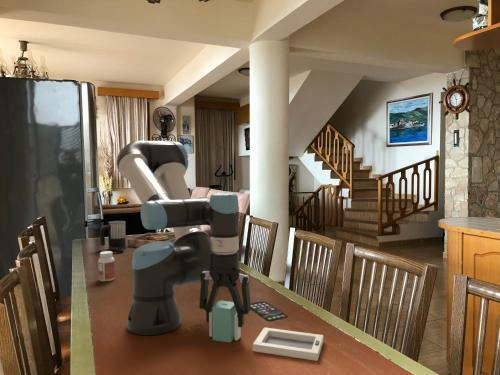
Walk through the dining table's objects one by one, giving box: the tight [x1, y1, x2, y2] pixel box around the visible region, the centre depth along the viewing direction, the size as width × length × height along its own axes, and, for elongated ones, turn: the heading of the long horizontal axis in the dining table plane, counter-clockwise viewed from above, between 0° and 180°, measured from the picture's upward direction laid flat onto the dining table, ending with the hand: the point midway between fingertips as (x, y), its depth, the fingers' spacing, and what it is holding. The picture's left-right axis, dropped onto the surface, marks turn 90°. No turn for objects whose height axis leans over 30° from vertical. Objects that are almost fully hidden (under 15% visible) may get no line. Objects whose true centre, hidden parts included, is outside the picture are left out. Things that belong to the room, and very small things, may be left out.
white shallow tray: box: [252, 326, 324, 362], centre depth 100 cm, size 16×10×2 cm, turn 72°
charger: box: [212, 300, 237, 343], centre depth 105 cm, size 5×5×9 cm
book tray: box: [127, 232, 176, 248], centre depth 227 cm, size 24×22×4 cm
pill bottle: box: [97, 250, 116, 282], centre depth 158 cm, size 6×6×11 cm
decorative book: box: [145, 233, 173, 241], centre depth 227 cm, size 11×16×5 cm
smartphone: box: [250, 300, 289, 322], centre depth 124 cm, size 7×1×15 cm
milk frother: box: [99, 220, 127, 253], centre depth 211 cm, size 14×16×15 cm
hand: (225, 336), depth 106 cm, fingers open, 6 cm apart
